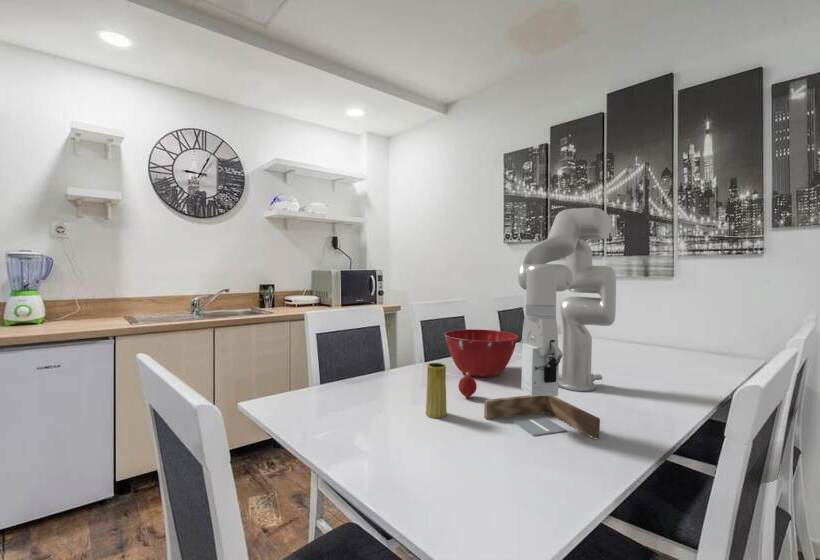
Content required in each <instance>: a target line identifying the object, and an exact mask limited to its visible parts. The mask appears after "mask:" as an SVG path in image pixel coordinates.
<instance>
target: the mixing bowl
mask: <svg viewBox="0 0 820 560" xmlns="http://www.w3.org/2000/svg"><path fill="white" fill-rule="evenodd" d="M444 336H445V340H446V343H447V348H448V351H449V354H450V356H451V358H452V361H453V362H454V364H455V367H456V368H457V369H458V370H459V371H460V372H462V373H463V374H464V375H466V373H469V374H470V376H471V377H473V378H474V377H475V378H492V377H495V376H497V375H498V374H501V373H502V372H503V371H504V370H505V369H506V367H507V366H508V364H509V363H510V360H511V358H512V355H513V354H514V352H515V351H514V350H515V348H516V344H517V341H518V340H517V339H519V336H518V335H517V334H515V333H513V332H512V333H511V332H508V331H502V330H493V329H492V330H491V329H472V328H471V329H455V330H449V331H446V332H445V333H444Z"/></svg>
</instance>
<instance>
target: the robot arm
mask: <svg viewBox="0 0 820 560" xmlns="http://www.w3.org/2000/svg"><path fill="white" fill-rule="evenodd" d="M611 232H612V220H611V217H610V215H609V214H608V212H606V211H605V210H603V209H601V208H598V207H582V208H581V207H580V208H567V209H563V210H561V211H559V212H558V213H557V214H556V216H555V217H554V220H553V222H552V226H551V228H550V231H549V233H548V236H547V238H546V239H544V240H542V241H540V242H539V243H538V244H536V245H535V246H532V248H530V249H529V250H528V251H527V252H526V254H525V255H524V256H523V259H522V260H521V263H520V266H519V269H518V273H517V281H518V284H519V286H520V287H521V288H522V289H523V290H525V291H526V292H525V293H526V294H525V295H526V296H525V315H524V319H523V325H522V331H521V333H522V334H521V340H520V345H521V347H522V344H523V343H524V344H527V345H530V346H533V347H536V348H538V356H539V357H544V361H545V364H546V367H544V382H545V383H551V382H556V367H558V364H559V365H560V363H561V362H562V363H561V378H558V387H560V388H562V389H565V390H569V391H574V392H575V391H576V392H589V391H591V392H592V391H594V390H596V389H597V388H596V387H597V385H596V383H595V381H601V380H603V375H602V374H600V373H599V374H594V373H592V357H593V355H592V350H593V349H592V346H593V345H592V343H593V342H592V341H593V338H592V335H591V332H590V331H589V330H588V328H587V327H586V326H601V327H609V326H612V325H613V323H614V322H615V319H616V314H617V313H616V304H617V299H616V298H617V276H616V272H615V270H614V269H613V267H611V266H607V265H593V250H592V248H591V246H590V245H589V244H588V243H587V242H586V240H604V239H607V238H608V237H609V236H610V234H611ZM564 258H565V264H559V263H552V262H555V261H559V260H562V259H564ZM566 290H568V291H569V292H570V293H571V292H572V293H578V294H579V293H580V294H598V295H599V297H591V296H569V297H566V298H564V299H563V300H562V301H561V303H560V308H559V309H560V317H561V323H562V350H561V349H560V347H559V335H558V324H557V292H565V291H566ZM550 348H551V350H552V351H553V352H554V353H553V354H548V351H549V349H550ZM547 354H548V355H547ZM551 357H552V359H551V360H550V362H549V359H548V358H551Z"/></svg>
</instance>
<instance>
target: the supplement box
mask: <svg viewBox="0 0 820 560" xmlns="http://www.w3.org/2000/svg"><path fill="white" fill-rule="evenodd" d="M521 350H522V351H521V385H520V386H521V389H522V391H524V392H525V393H526V394H527V395H530V396H555V397H558V396H559V386H558V380H559V377H560V376H559V375H560V374H559V367H560V366H559V365H560V363H559V364H558V367H556V382H551V383H545V382H544V367H546V364H545V361H544V357H539V356H538V348H536V347H533V346H530V345H527V344H524V343H523V344H522V346H521ZM553 353H554V352H553V351H552V350H551V348H550V349H549V351H548V354H553ZM548 354H547V355H548ZM548 359H549V362H550V360H551V359H552V357H551V358H548Z"/></svg>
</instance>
